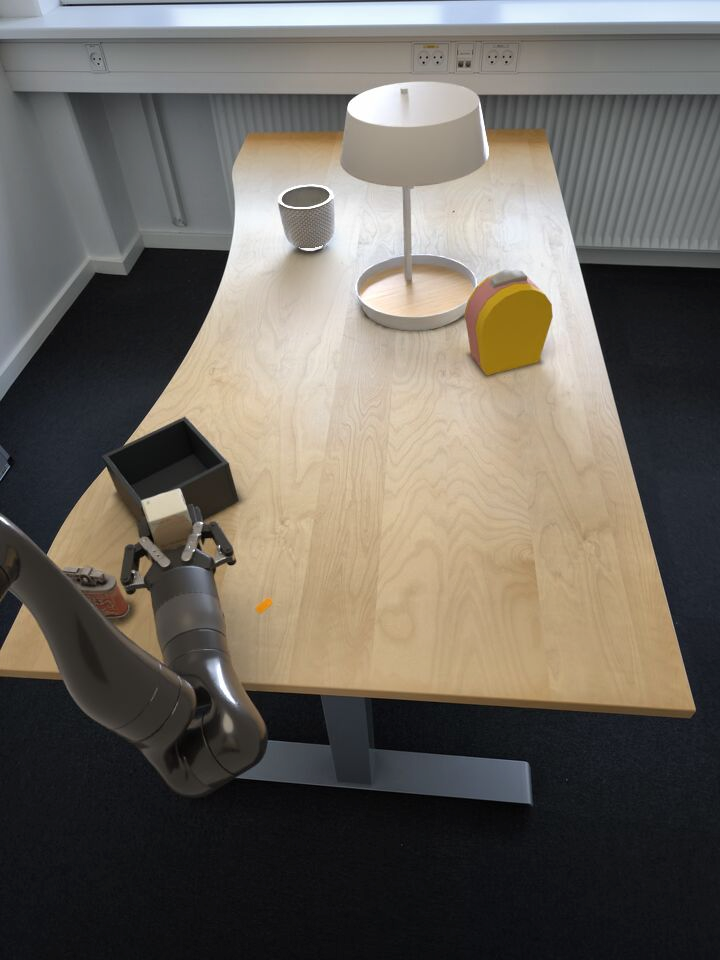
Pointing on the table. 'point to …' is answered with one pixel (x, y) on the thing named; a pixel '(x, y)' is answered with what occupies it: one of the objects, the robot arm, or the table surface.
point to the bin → (172, 469)
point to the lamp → (407, 163)
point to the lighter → (100, 591)
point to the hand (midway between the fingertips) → (168, 515)
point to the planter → (307, 215)
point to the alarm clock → (507, 322)
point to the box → (168, 519)
